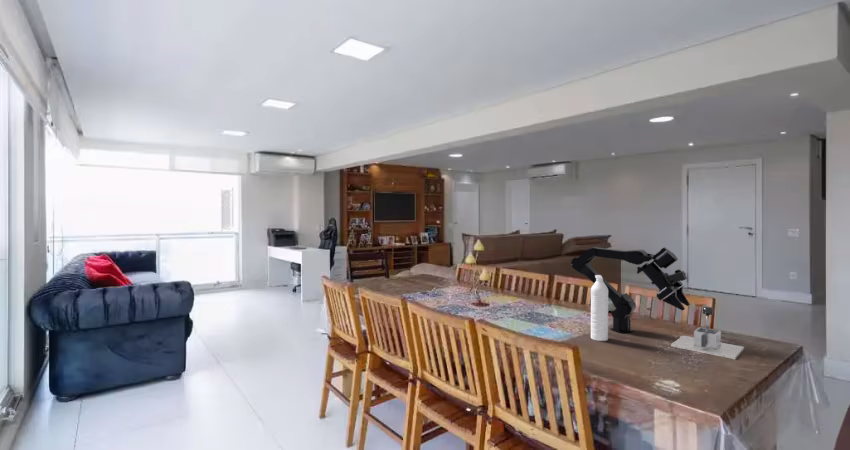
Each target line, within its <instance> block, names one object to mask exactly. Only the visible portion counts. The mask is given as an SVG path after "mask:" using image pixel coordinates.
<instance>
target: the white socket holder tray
mask: <svg viewBox="0 0 850 450" xmlns="http://www.w3.org/2000/svg"><path fill="white" fill-rule="evenodd" d="M701 331H702V332H701ZM704 332H706V327H700V326H699V327H698V328H696V329H695V330H694V331H693V336H688V335H682V336H680V337H679V338H678V339H676V340H675V341H674V342H672V343H671V344H670V347H674V348H678V349H682V350H683V349H684V350H688V351H693V352H698V353H703V354H708V355H712V356H717V357H720V358H721V357H722V358H727V359H730V360H736V359H737V358H738V357H739V355H741V354H742V353H743V351H744V350H745V346H742V345H736V344H730V343H725V342H722V341H721V338H722V330H718V329H713V328H712V329H711V328H709V333H704ZM710 333H714V334H710Z"/></svg>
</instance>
